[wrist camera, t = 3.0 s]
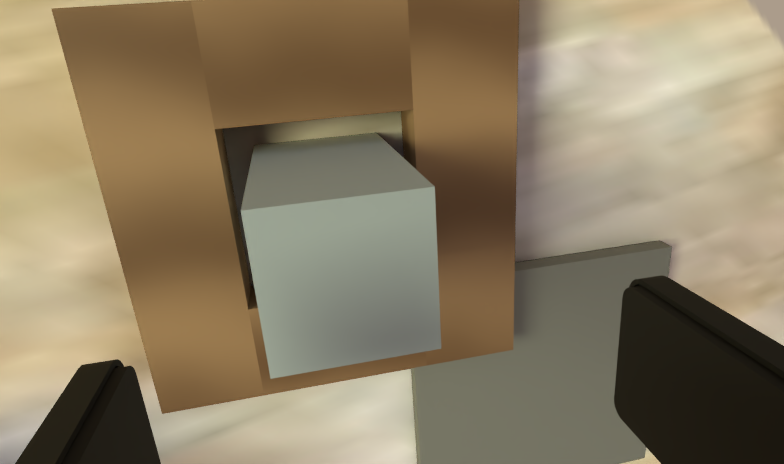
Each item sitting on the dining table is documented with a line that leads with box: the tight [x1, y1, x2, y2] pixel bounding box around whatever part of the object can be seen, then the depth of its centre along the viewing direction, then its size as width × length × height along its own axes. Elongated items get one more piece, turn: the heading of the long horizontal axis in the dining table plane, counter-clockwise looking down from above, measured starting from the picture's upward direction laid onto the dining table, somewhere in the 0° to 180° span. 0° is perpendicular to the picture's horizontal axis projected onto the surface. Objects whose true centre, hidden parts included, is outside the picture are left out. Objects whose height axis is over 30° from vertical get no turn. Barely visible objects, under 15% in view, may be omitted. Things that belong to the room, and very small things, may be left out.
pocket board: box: [52, 0, 519, 414], centre depth 19 cm, size 14×14×2 cm
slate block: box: [241, 133, 441, 379], centre depth 17 cm, size 4×4×8 cm
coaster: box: [411, 241, 672, 464], centre depth 25 cm, size 12×12×1 cm
